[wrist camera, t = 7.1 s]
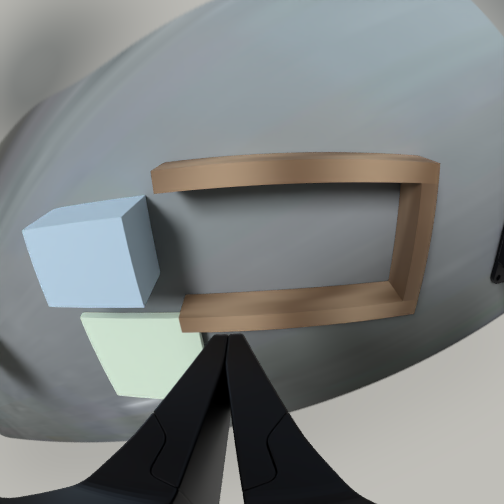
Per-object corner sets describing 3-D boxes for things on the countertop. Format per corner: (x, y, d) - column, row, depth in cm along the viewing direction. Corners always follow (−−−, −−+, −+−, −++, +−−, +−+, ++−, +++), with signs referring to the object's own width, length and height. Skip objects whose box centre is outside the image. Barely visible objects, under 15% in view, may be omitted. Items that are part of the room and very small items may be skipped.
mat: (197, 311, 18) (195, 317, 17) (215, 394, 21) (214, 400, 21) (83, 312, 18) (79, 317, 17) (119, 389, 21) (117, 395, 21)
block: (146, 194, 15) (121, 216, 12) (161, 271, 17) (144, 307, 14) (56, 207, 15) (21, 230, 12) (75, 275, 17) (49, 306, 14)
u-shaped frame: (417, 155, 14) (439, 163, 12) (399, 293, 17) (413, 313, 15) (164, 162, 14) (150, 171, 12) (188, 308, 18) (182, 332, 16)
